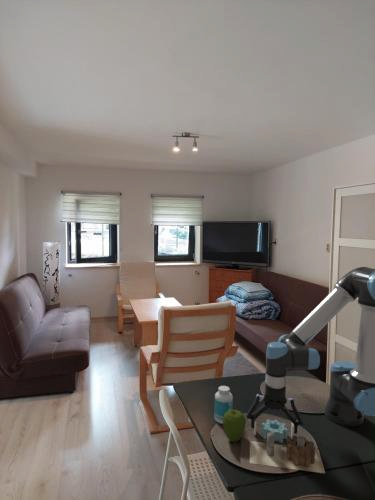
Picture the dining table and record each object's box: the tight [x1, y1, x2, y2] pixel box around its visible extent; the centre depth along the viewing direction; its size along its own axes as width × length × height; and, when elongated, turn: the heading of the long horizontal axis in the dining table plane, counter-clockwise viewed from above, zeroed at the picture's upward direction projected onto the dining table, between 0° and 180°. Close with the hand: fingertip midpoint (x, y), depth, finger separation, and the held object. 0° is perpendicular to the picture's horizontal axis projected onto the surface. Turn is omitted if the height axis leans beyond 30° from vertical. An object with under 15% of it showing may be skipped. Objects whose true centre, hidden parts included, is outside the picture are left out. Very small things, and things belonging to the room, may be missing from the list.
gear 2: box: [286, 435, 316, 467], centre depth 118 cm, size 9×9×5 cm
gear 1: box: [261, 419, 288, 443], centre depth 131 cm, size 9×9×5 cm
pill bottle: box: [214, 385, 234, 425], centre depth 143 cm, size 8×7×14 cm
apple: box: [222, 409, 247, 443], centre depth 129 cm, size 9×8×12 cm
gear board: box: [249, 433, 326, 474], centre depth 119 cm, size 24×12×8 cm, turn 79°
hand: (273, 438), depth 131 cm, fingers open, 13 cm apart
